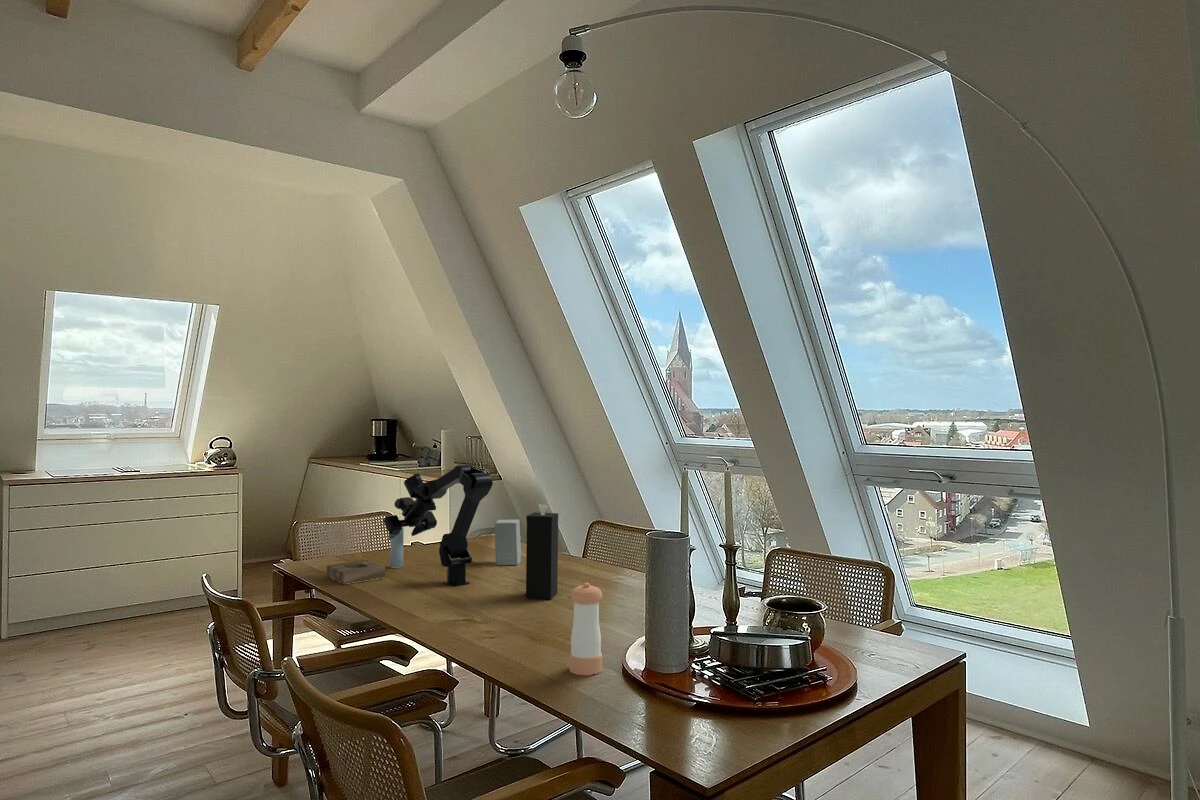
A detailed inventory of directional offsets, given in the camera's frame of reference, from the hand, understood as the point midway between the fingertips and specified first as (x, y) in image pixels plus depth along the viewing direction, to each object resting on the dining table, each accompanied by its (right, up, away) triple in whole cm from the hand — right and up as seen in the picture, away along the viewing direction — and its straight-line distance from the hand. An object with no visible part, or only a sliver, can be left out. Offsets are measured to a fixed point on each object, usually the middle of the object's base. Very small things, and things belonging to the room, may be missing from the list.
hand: (400, 536), depth 272 cm
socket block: (-11, -11, -15) cm, 22 cm away
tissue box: (+52, -12, -36) cm, 65 cm away
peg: (-2, -11, +2) cm, 11 cm away
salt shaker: (+67, -12, -100) cm, 121 cm away
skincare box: (+36, -12, +9) cm, 39 cm away
